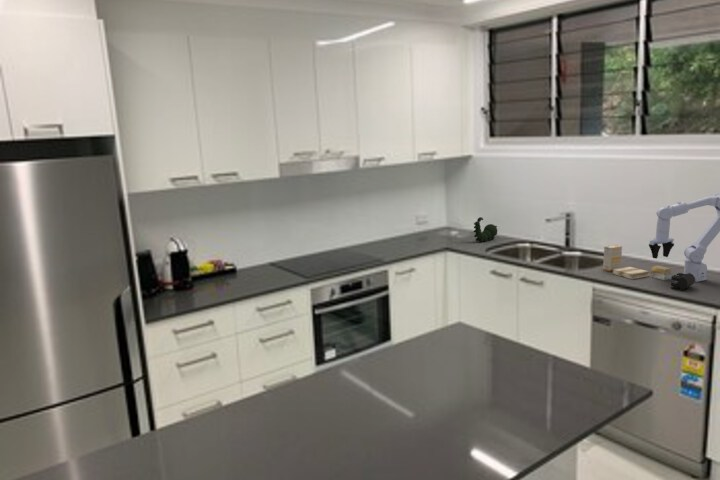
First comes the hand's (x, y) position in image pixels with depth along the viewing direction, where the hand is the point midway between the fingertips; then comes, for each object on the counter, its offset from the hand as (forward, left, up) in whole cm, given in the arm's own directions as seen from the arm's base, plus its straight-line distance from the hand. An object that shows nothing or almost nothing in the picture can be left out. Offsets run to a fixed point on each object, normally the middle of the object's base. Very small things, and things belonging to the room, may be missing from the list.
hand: (660, 257), depth 271 cm
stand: (+9, +9, -10) cm, 16 cm away
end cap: (-19, +8, -11) cm, 23 cm away
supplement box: (+22, +8, -11) cm, 26 cm away
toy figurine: (+121, +18, -11) cm, 123 cm away
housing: (-2, +1, -11) cm, 11 cm away
